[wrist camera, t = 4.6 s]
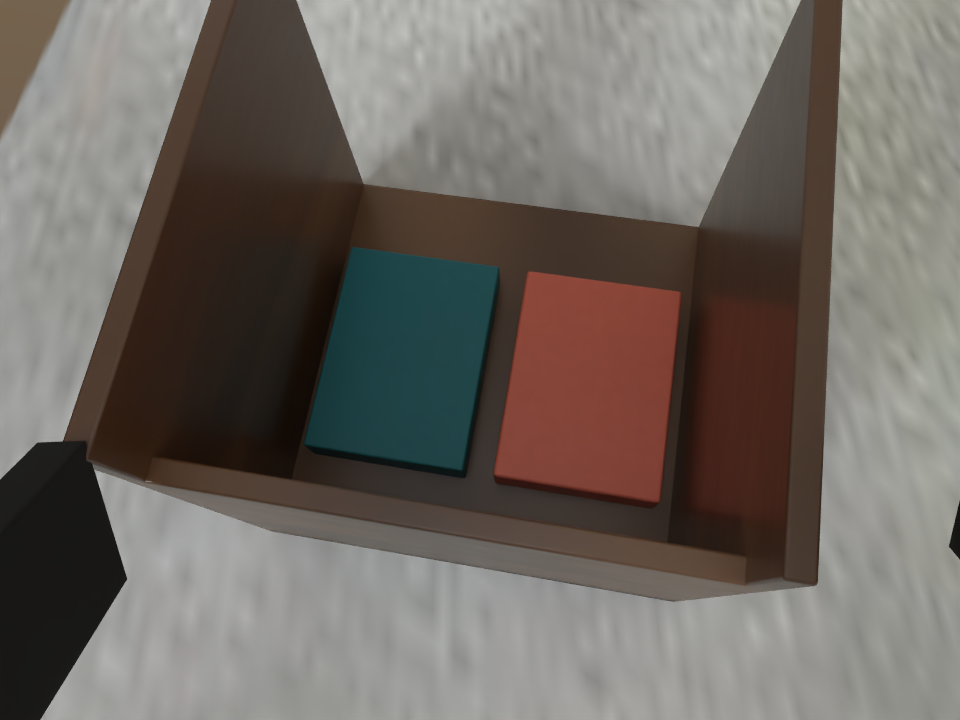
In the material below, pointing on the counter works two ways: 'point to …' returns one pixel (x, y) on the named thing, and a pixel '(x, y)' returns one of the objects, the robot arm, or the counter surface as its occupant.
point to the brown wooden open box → (516, 251)
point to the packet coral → (590, 390)
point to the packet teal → (405, 362)
